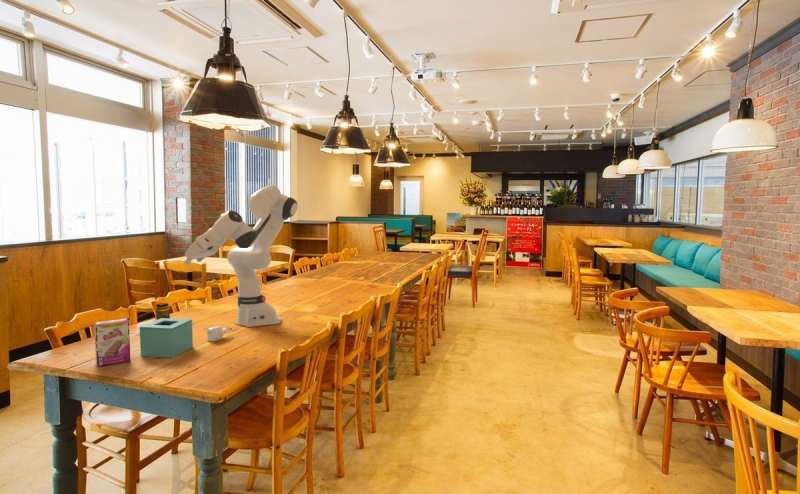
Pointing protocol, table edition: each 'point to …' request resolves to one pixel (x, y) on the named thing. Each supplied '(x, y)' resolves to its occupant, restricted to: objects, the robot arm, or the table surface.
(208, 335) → the power adapter
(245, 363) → the table surface
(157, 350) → the teal coin box
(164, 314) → the condiment
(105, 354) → the candy bar box
